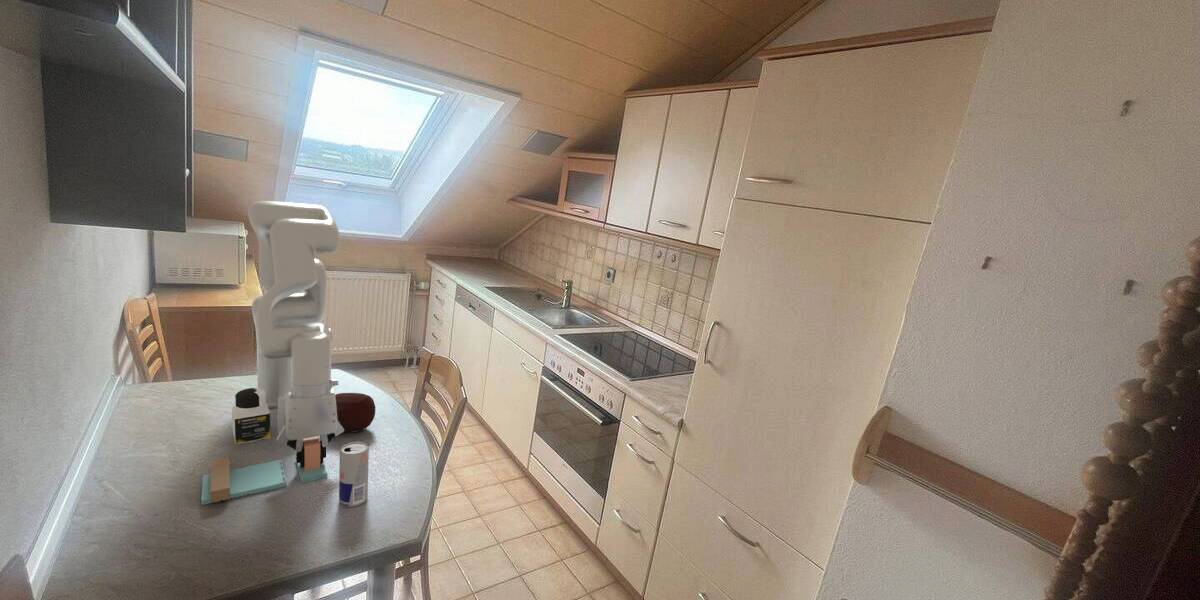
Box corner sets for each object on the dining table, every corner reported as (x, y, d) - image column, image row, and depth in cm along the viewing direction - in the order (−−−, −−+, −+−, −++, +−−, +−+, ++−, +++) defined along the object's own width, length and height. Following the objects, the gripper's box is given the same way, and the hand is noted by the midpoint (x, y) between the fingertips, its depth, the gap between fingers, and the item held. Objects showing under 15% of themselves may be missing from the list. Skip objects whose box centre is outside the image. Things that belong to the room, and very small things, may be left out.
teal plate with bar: (203, 475, 103) (202, 461, 102) (281, 460, 112) (281, 447, 111) (201, 509, 93) (200, 493, 92) (286, 490, 102) (286, 475, 101)
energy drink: (340, 494, 102) (340, 442, 100) (368, 490, 105) (369, 440, 102) (337, 509, 98) (338, 455, 95) (366, 505, 100) (368, 453, 97)
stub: (295, 460, 112) (295, 433, 111) (320, 456, 115) (320, 429, 114) (301, 483, 104) (301, 453, 103) (327, 477, 108) (327, 448, 106)
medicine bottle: (235, 445, 115) (233, 398, 113) (232, 432, 121) (231, 388, 118) (271, 438, 120) (270, 393, 118) (266, 426, 125) (265, 383, 123)
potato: (337, 417, 134) (338, 382, 132) (383, 424, 134) (384, 389, 132) (312, 436, 124) (312, 398, 122) (361, 443, 123) (362, 405, 121)
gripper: (349, 376, 114) (348, 447, 117) (265, 386, 104) (266, 463, 107) (355, 388, 108) (354, 462, 112) (267, 399, 98) (269, 480, 102)
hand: (311, 462), depth 110 cm, fingers closed on stub, 3 cm apart
